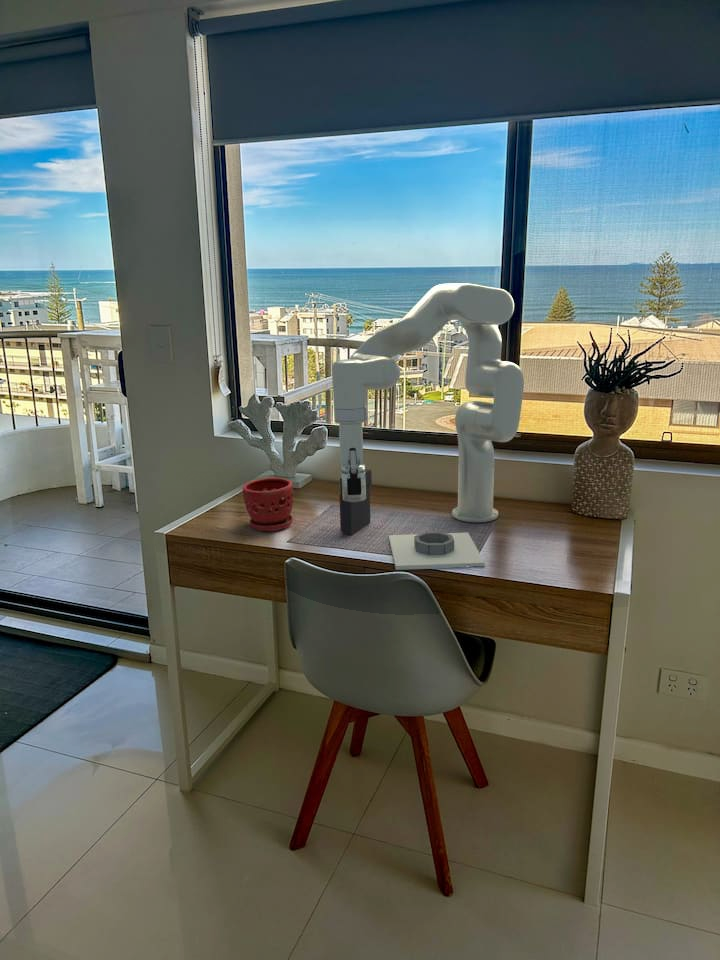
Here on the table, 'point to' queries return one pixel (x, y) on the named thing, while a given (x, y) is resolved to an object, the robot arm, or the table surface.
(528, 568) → the table surface
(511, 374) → the robot arm
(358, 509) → the upright black box
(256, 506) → the plant pot
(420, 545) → the holder
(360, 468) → the piston
